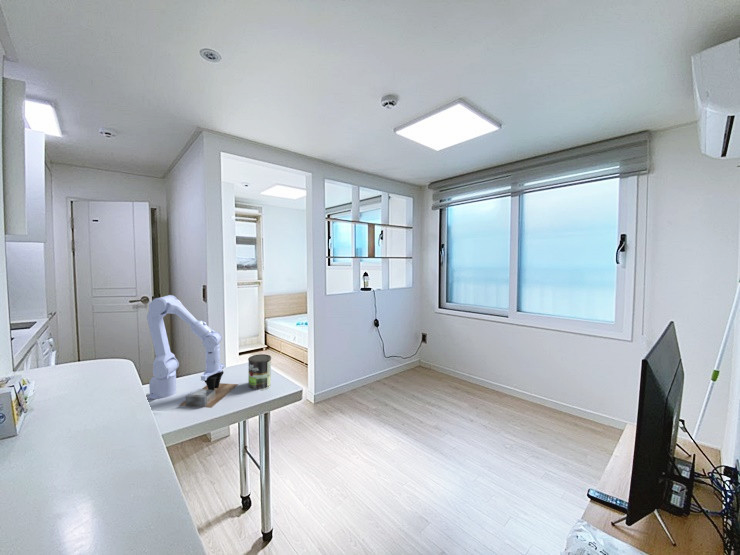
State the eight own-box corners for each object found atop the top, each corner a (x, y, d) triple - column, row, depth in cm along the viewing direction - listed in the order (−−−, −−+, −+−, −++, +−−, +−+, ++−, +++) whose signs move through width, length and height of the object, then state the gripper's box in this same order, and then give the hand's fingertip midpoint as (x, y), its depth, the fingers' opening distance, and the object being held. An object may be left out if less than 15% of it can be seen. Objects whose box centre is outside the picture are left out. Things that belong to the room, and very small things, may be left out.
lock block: (190, 403, 125) (190, 395, 124) (200, 396, 131) (199, 389, 130) (206, 404, 124) (206, 396, 124) (215, 397, 130) (215, 390, 130)
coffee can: (258, 393, 137) (258, 363, 136) (243, 387, 142) (243, 358, 141) (275, 384, 146) (275, 356, 145) (260, 380, 151) (260, 352, 150)
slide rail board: (178, 407, 123) (178, 396, 122) (210, 384, 145) (210, 374, 144) (211, 409, 122) (211, 398, 122) (238, 385, 144) (238, 376, 143)
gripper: (211, 366, 126) (212, 397, 127) (230, 355, 140) (231, 383, 142) (195, 365, 127) (196, 396, 128) (215, 354, 141) (216, 382, 142)
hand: (213, 389), depth 135 cm, fingers open, 3 cm apart
